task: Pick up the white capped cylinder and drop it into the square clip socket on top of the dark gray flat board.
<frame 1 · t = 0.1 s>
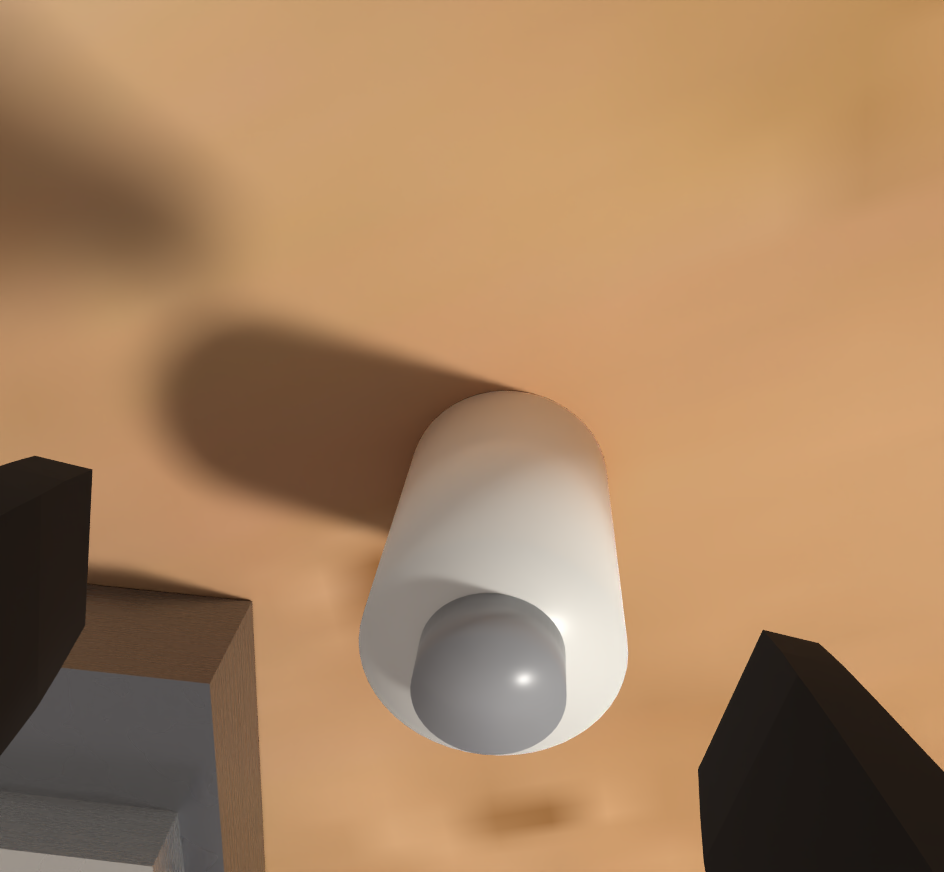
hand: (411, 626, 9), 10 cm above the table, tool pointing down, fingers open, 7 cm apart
white capped cylinder: (508, 481, 20), on the table
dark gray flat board: (92, 812, 26), on the table
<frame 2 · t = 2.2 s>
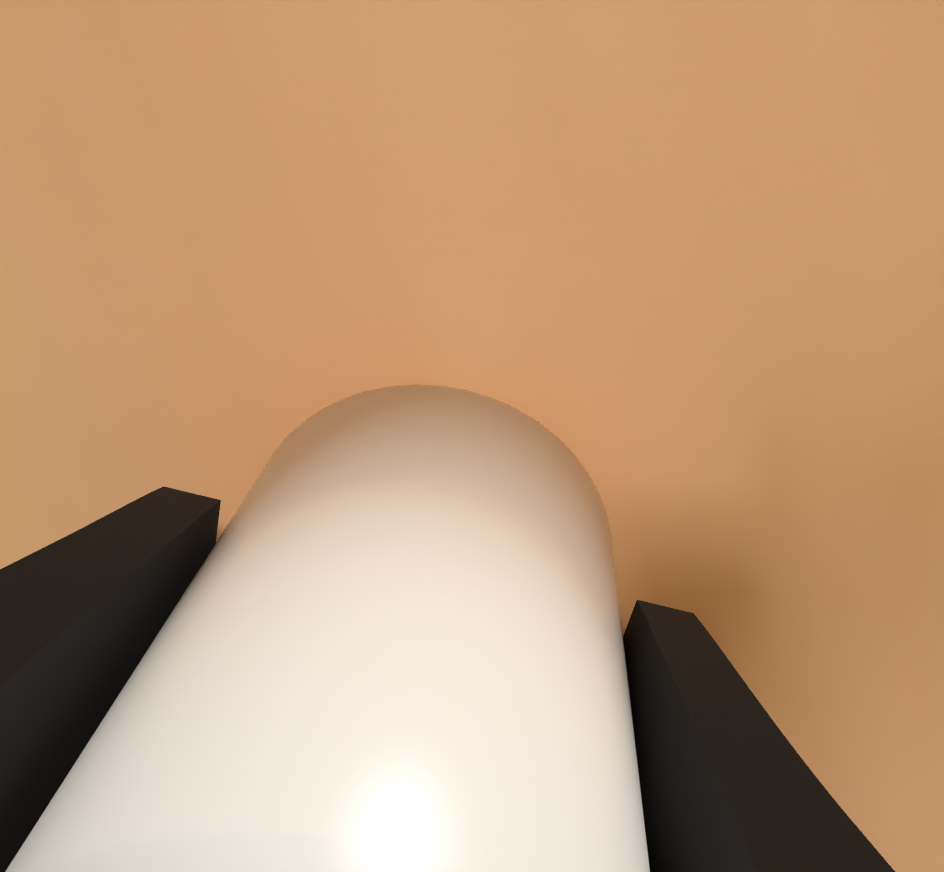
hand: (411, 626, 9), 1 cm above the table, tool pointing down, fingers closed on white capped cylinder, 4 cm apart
white capped cylinder: (428, 553, 11), on the table, touching gripper
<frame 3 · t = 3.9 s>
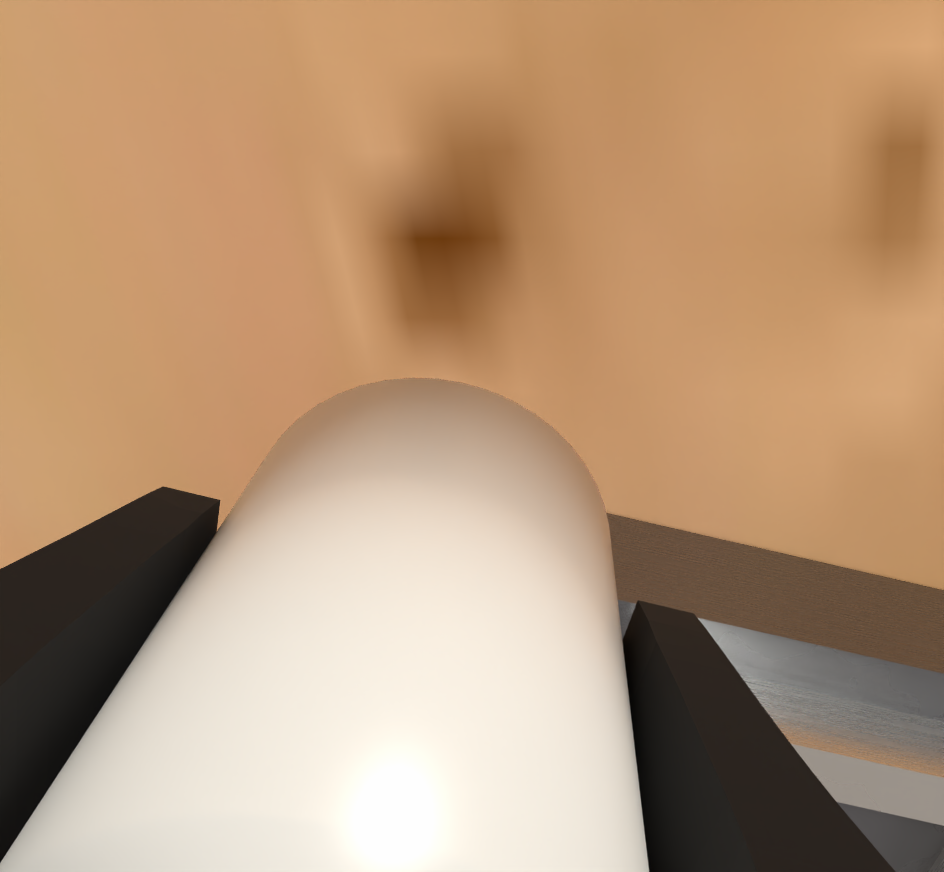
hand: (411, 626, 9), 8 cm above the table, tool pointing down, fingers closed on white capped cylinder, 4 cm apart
white capped cylinder: (427, 547, 11), point 7 cm above the table, touching gripper
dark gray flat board: (745, 741, 20), on the table
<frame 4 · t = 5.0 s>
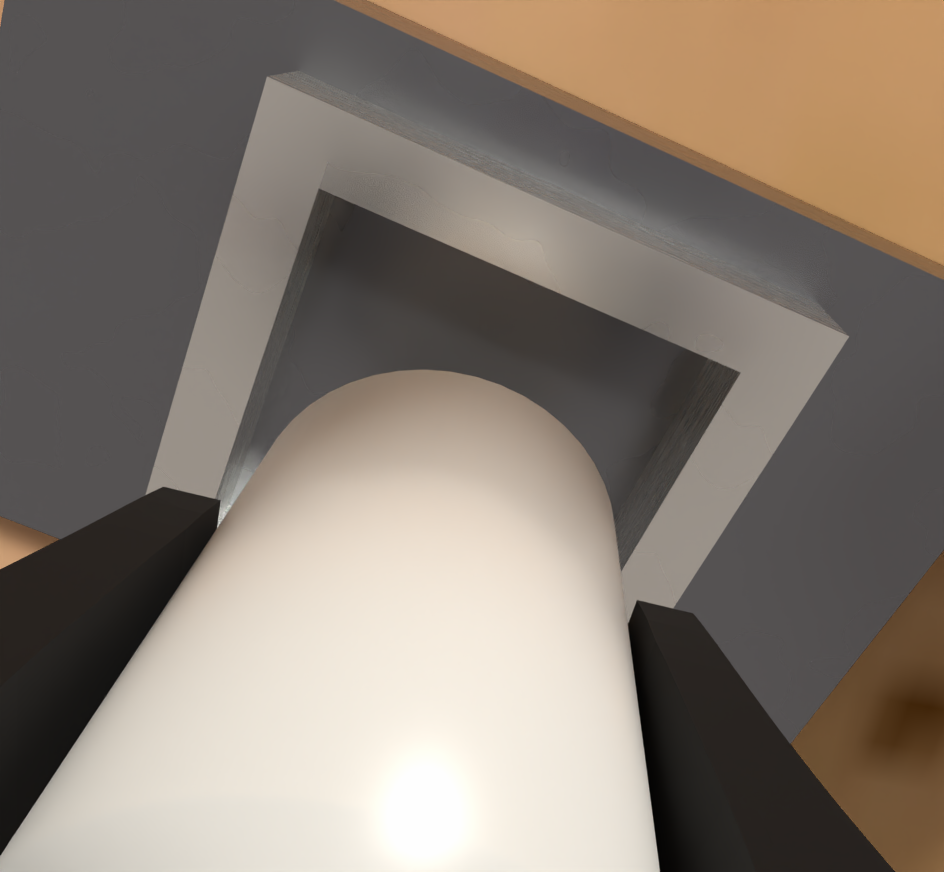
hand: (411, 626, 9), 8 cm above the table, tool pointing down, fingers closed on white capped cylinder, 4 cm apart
white capped cylinder: (431, 540, 11), point 7 cm above the table, touching gripper
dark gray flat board: (473, 361, 17), on the table
when the fingers open (5 cm above the table, at t = 6.0 s): white capped cylinder stays where it is, resting on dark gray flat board.
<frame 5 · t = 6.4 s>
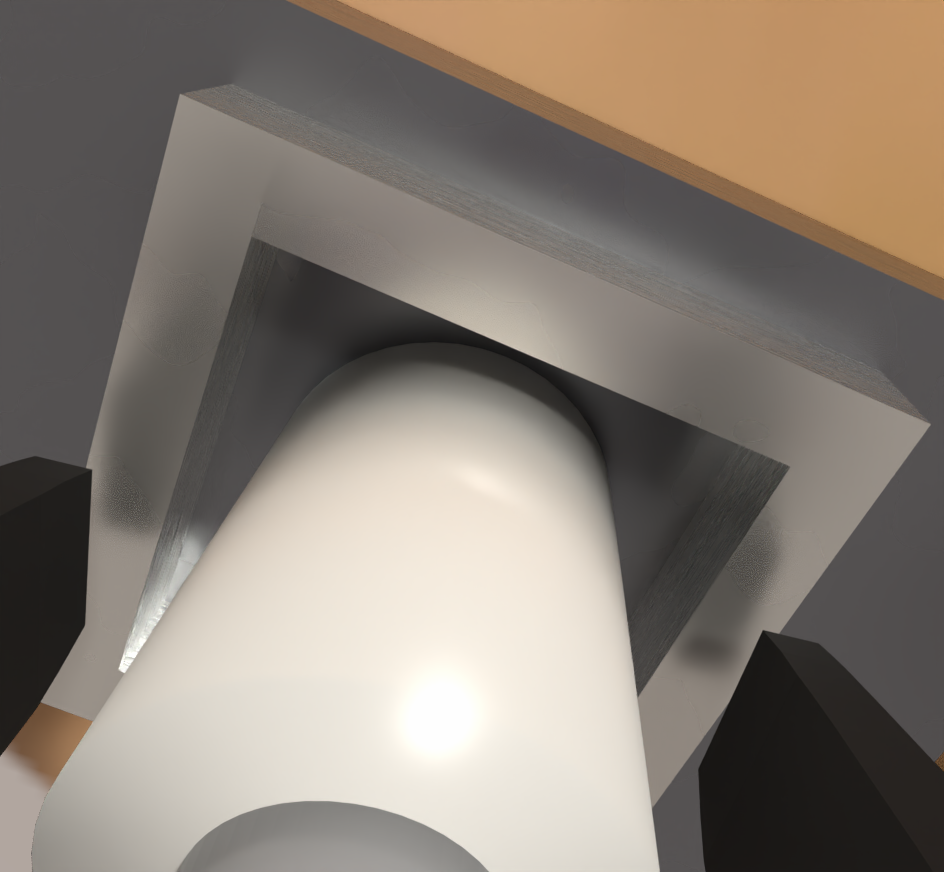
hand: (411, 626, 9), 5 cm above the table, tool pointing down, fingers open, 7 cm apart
white capped cylinder: (440, 502, 12), point 3 cm above the table, touching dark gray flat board
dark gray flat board: (459, 420, 14), on the table
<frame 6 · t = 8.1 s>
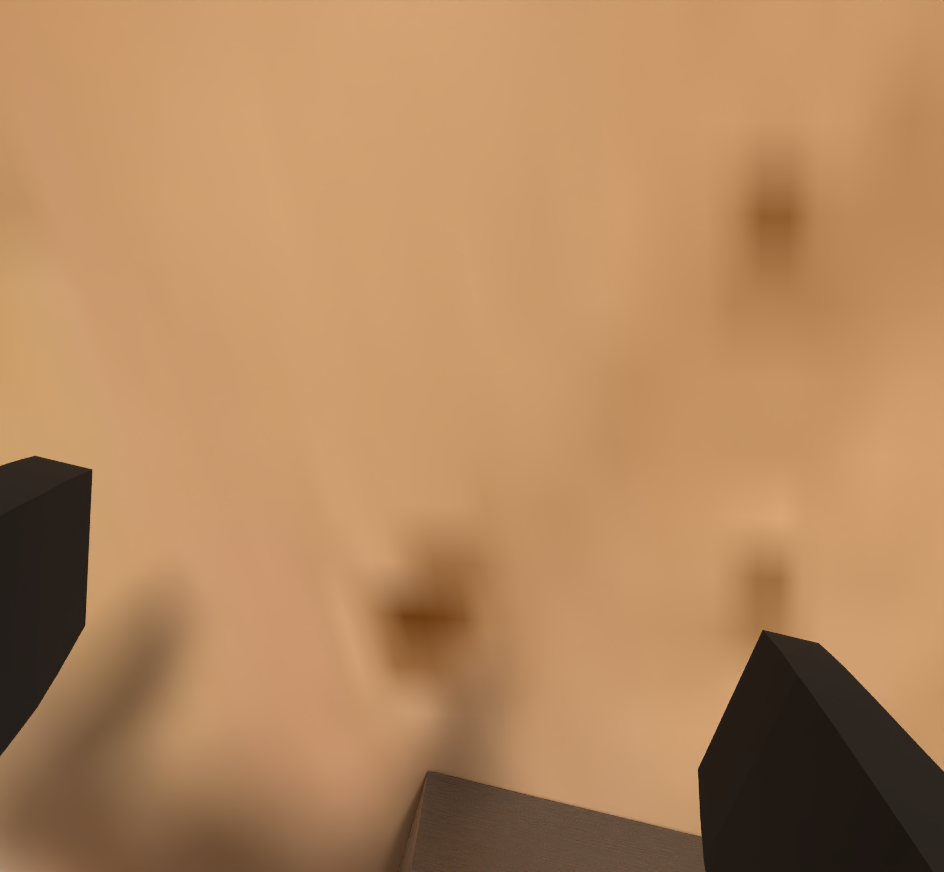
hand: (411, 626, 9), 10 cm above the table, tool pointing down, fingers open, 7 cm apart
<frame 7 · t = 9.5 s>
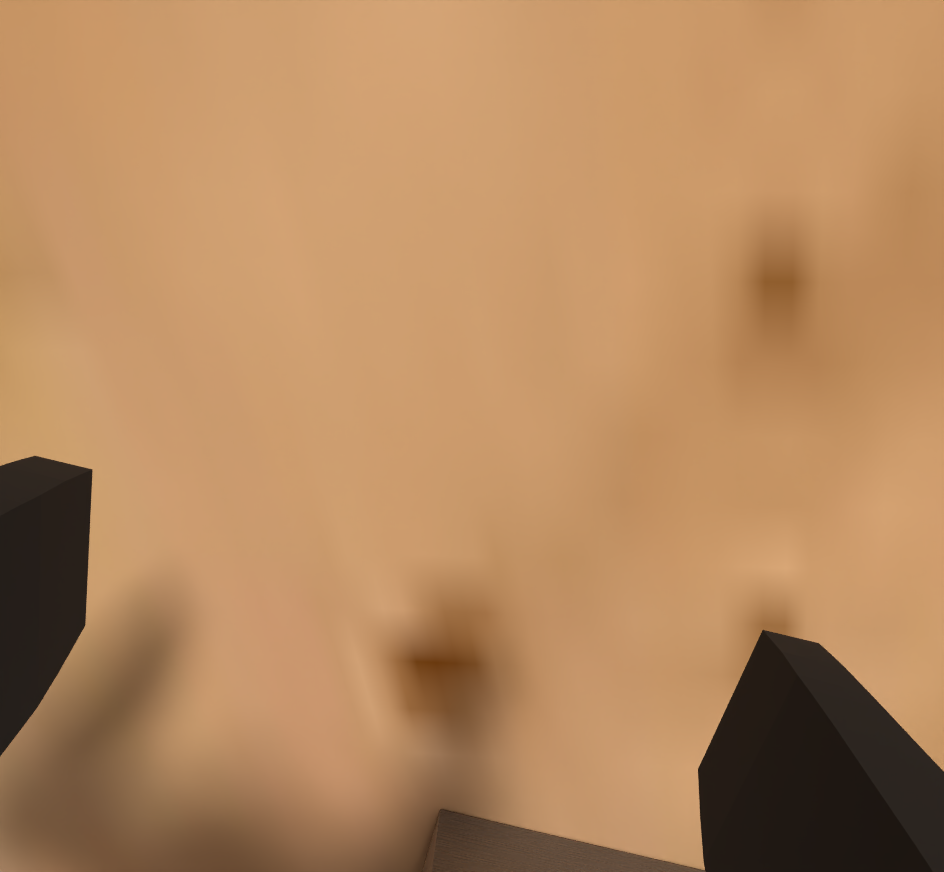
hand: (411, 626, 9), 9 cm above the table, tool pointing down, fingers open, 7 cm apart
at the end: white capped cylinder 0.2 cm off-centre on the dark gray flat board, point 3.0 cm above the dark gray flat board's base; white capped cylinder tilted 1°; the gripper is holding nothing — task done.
